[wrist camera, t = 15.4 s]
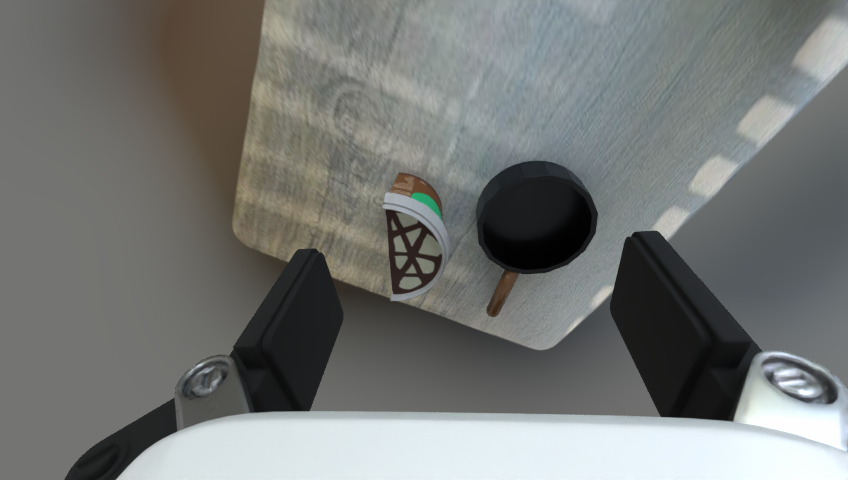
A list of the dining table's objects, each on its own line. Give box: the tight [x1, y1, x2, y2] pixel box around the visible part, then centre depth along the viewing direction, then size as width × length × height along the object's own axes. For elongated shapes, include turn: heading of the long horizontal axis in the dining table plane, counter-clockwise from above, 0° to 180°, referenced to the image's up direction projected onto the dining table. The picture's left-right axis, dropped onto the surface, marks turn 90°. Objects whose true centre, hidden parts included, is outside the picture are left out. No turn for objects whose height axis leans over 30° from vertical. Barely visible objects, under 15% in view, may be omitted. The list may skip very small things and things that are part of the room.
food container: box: [382, 173, 450, 301], centre depth 38 cm, size 12×6×10 cm, turn 0°
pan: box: [476, 161, 598, 317], centre depth 42 cm, size 21×12×4 cm, turn 167°
